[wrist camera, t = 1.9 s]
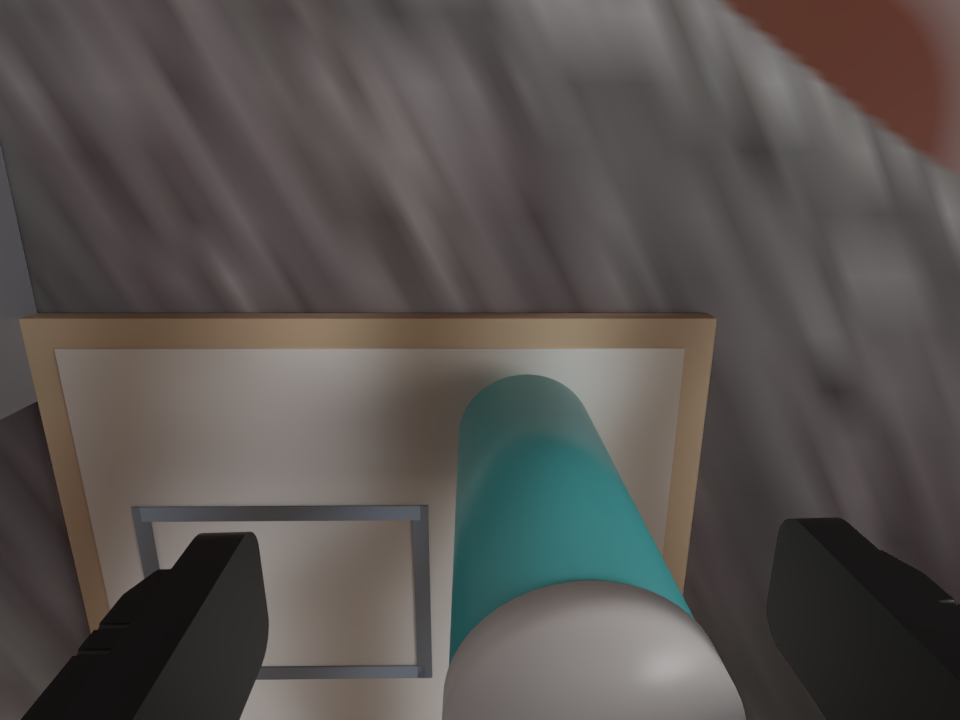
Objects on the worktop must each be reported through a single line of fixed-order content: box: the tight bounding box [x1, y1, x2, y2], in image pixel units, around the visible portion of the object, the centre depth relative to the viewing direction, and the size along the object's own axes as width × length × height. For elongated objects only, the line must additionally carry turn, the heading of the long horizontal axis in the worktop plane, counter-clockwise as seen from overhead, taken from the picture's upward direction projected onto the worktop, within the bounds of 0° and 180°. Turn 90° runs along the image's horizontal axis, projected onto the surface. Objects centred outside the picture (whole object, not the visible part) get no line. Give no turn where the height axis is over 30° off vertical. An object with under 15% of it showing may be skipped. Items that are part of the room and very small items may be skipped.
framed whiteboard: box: [19, 313, 717, 720], centre depth 16 cm, size 16×13×1 cm
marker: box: [442, 374, 746, 720], centre depth 10 cm, size 3×3×9 cm
